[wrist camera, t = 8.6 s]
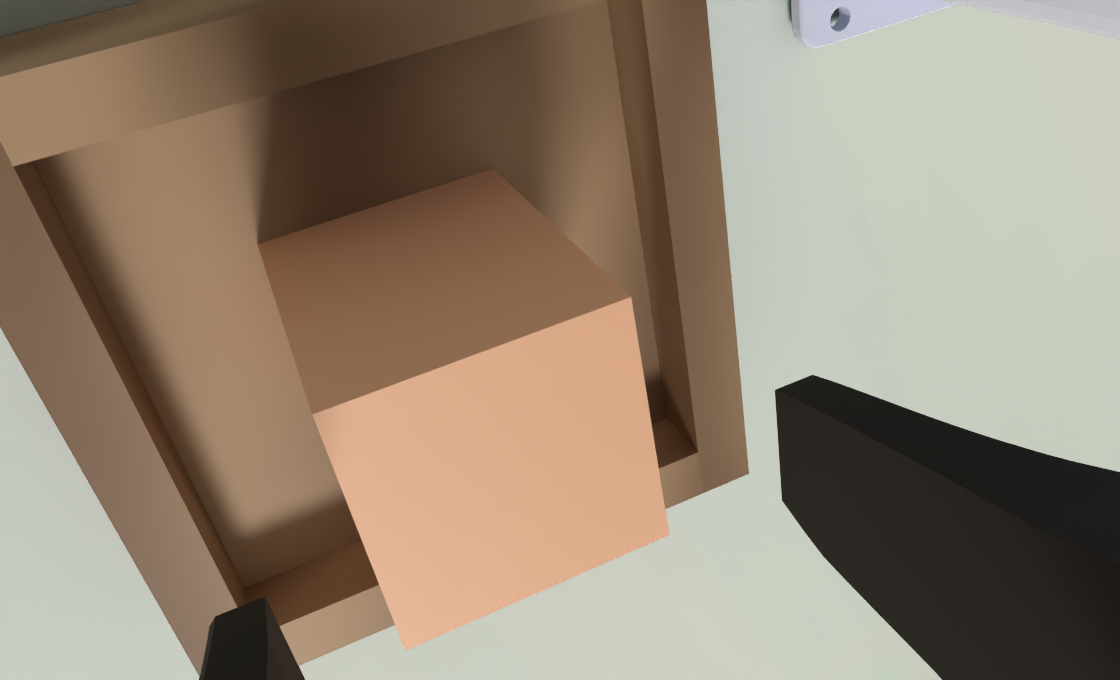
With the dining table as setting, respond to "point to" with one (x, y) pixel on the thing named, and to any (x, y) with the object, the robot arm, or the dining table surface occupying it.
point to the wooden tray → (314, 198)
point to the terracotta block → (470, 397)
